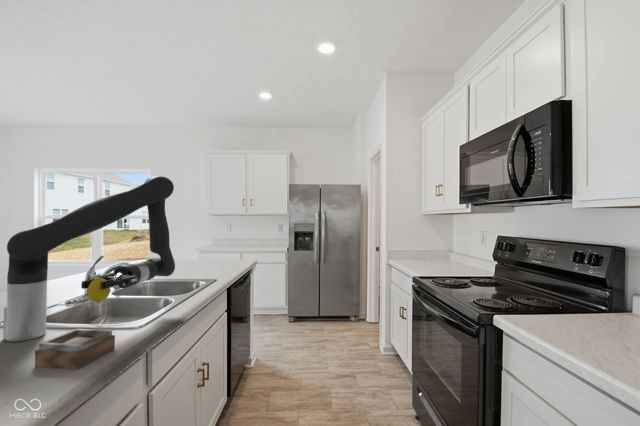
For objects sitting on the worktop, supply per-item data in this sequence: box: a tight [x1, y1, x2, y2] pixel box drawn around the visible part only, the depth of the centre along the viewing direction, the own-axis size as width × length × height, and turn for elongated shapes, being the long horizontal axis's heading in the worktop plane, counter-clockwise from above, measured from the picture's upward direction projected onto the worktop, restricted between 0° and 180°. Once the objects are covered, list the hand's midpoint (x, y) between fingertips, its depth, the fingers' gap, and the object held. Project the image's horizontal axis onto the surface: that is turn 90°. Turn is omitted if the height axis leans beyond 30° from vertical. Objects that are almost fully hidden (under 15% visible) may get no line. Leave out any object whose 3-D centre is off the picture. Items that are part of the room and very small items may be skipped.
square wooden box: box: [34, 328, 116, 370], centre depth 85 cm, size 12×12×6 cm
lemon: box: [87, 277, 111, 305], centre depth 95 cm, size 6×6×8 cm
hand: (92, 285), depth 92 cm, fingers closed on lemon, 5 cm apart
